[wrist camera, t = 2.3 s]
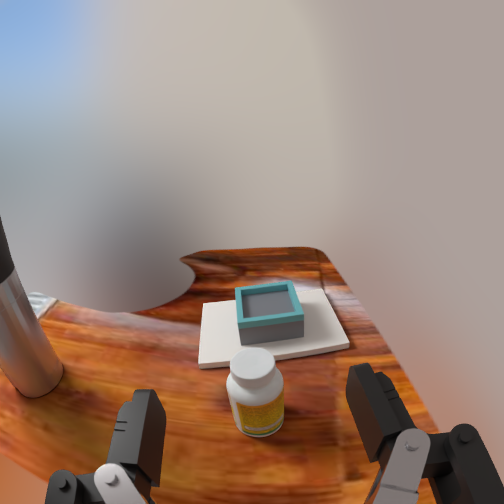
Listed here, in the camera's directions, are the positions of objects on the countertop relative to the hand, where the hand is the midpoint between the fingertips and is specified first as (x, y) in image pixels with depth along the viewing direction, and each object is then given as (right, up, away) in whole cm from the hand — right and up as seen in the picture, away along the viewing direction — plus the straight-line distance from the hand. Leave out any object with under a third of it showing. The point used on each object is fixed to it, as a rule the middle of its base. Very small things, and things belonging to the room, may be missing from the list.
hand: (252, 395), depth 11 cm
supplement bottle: (+1, -13, +18) cm, 22 cm away
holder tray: (+2, -5, +33) cm, 33 cm away
